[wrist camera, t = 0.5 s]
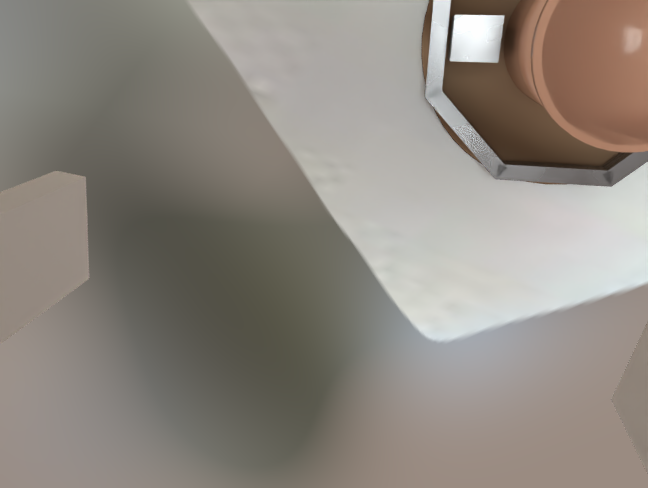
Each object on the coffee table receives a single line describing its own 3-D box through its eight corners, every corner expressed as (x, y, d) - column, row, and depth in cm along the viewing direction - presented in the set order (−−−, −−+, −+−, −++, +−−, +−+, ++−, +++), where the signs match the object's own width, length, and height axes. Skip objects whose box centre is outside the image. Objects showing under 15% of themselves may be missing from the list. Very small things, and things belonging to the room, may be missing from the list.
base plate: (436, -131, 30) (436, -134, 30) (786, -141, 28) (793, -144, 27) (410, 173, 37) (410, 175, 37) (689, 190, 34) (693, 193, 34)
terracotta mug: (509, -41, 31) (554, -79, 20) (722, -41, 29) (900, -84, 18) (489, 109, 34) (518, 146, 23) (679, 117, 32) (808, 162, 21)
